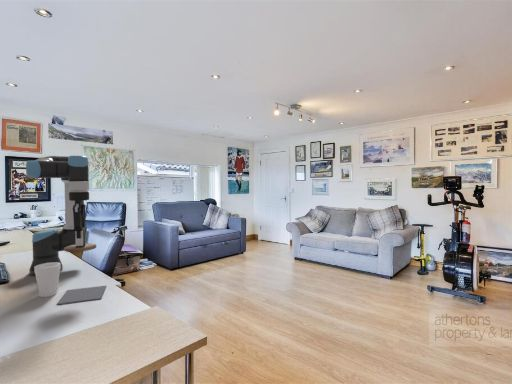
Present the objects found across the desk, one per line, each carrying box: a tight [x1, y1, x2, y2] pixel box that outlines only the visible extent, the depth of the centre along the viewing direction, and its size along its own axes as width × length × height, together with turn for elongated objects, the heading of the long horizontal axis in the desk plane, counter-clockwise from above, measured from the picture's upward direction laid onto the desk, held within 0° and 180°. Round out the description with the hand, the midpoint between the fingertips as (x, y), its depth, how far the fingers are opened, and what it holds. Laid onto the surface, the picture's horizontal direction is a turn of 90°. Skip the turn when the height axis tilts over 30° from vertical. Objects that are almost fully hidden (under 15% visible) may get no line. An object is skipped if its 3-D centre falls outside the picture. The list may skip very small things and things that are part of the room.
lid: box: [63, 228, 97, 253], centre depth 126 cm, size 12×12×9 cm
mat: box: [56, 285, 107, 306], centre depth 126 cm, size 16×16×1 cm
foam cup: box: [34, 262, 61, 298], centre depth 127 cm, size 10×9×13 cm
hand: (80, 244), depth 126 cm, fingers closed on lid, 3 cm apart
